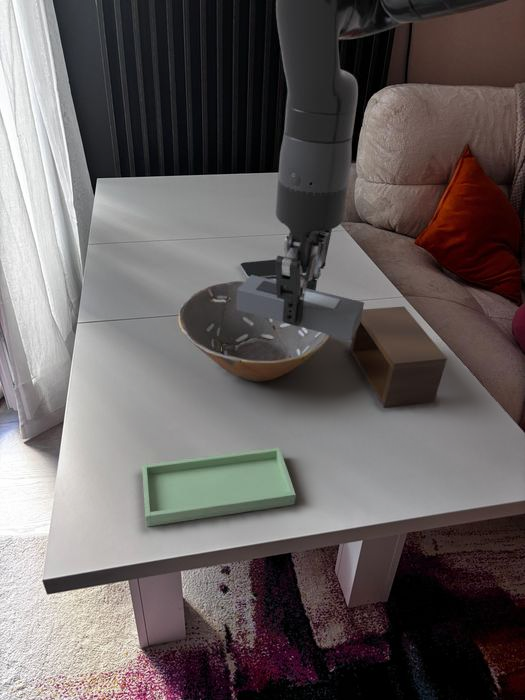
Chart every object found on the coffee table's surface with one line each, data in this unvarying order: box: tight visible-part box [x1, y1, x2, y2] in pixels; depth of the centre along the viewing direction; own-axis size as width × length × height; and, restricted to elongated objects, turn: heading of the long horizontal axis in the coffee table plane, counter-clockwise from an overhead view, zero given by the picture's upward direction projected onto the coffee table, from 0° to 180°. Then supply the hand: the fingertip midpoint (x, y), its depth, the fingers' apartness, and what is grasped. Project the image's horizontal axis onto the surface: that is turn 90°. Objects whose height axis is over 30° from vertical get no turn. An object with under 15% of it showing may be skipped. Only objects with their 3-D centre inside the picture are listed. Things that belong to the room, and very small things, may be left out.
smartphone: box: [240, 259, 276, 279], centre depth 127 cm, size 7×1×15 cm
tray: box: [141, 447, 297, 527], centre depth 74 cm, size 19×9×2 cm, turn 103°
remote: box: [237, 275, 365, 341], centre depth 68 cm, size 15×4×3 cm, turn 67°
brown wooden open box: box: [349, 305, 448, 408], centre depth 94 cm, size 16×9×9 cm, turn 13°
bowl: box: [178, 280, 330, 382], centre depth 95 cm, size 25×25×10 cm
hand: (298, 312), depth 69 cm, fingers closed on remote, 4 cm apart
